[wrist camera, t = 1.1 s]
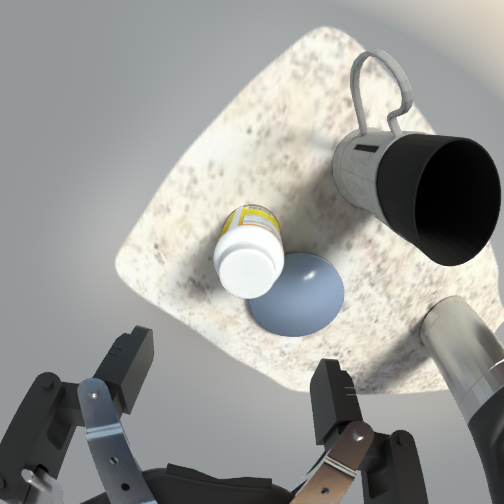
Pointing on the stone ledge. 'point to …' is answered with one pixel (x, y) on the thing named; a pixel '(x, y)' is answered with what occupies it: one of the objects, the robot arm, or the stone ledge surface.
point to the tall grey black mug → (419, 179)
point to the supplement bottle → (249, 252)
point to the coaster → (300, 297)
